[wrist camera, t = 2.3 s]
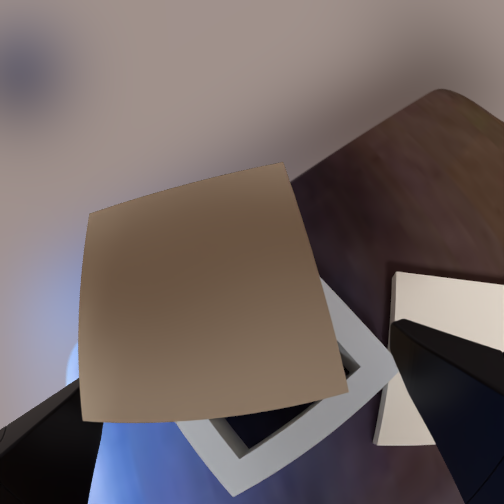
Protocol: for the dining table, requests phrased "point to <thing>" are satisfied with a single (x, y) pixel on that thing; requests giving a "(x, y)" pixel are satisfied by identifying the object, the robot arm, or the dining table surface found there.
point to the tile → (441, 318)
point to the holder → (307, 422)
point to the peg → (204, 305)
